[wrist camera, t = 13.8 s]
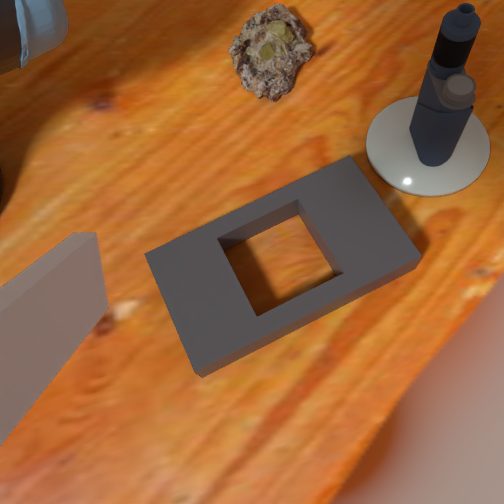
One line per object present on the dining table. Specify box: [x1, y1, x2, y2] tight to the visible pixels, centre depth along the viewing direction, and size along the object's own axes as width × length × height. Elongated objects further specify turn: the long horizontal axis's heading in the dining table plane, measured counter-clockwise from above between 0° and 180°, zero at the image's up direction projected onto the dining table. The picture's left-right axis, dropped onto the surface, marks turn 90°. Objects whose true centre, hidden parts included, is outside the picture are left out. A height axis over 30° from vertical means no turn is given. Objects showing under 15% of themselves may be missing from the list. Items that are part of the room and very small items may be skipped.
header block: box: [145, 155, 422, 378], centre depth 36 cm, size 10×18×2 cm, turn 116°
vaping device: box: [409, 3, 481, 167], centre depth 35 cm, size 3×5×12 cm, turn 7°
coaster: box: [366, 96, 490, 197], centre depth 40 cm, size 10×10×1 cm
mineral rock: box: [229, 4, 313, 102], centre depth 46 cm, size 11×4×8 cm
